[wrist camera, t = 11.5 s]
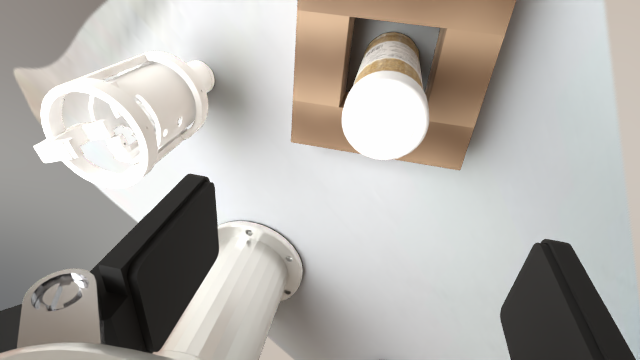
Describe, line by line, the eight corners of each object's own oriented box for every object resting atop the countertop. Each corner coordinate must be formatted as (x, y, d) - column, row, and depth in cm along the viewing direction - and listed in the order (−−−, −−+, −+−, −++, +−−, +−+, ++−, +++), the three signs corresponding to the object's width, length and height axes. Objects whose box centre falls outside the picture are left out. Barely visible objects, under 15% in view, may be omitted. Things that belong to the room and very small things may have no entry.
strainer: (150, 46, 34) (0, 101, 21) (218, 29, 32) (96, 78, 19) (182, 118, 37) (68, 202, 25) (245, 106, 35) (156, 192, 23)
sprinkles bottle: (379, 96, 32) (366, 175, 21) (353, 49, 31) (323, 107, 19) (429, 69, 30) (445, 141, 19) (404, 18, 29) (404, 62, 18)
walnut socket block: (454, 148, 33) (460, 170, 30) (302, 123, 35) (291, 142, 32) (510, -32, 26) (525, -29, 23) (313, -52, 28) (300, -52, 24)
